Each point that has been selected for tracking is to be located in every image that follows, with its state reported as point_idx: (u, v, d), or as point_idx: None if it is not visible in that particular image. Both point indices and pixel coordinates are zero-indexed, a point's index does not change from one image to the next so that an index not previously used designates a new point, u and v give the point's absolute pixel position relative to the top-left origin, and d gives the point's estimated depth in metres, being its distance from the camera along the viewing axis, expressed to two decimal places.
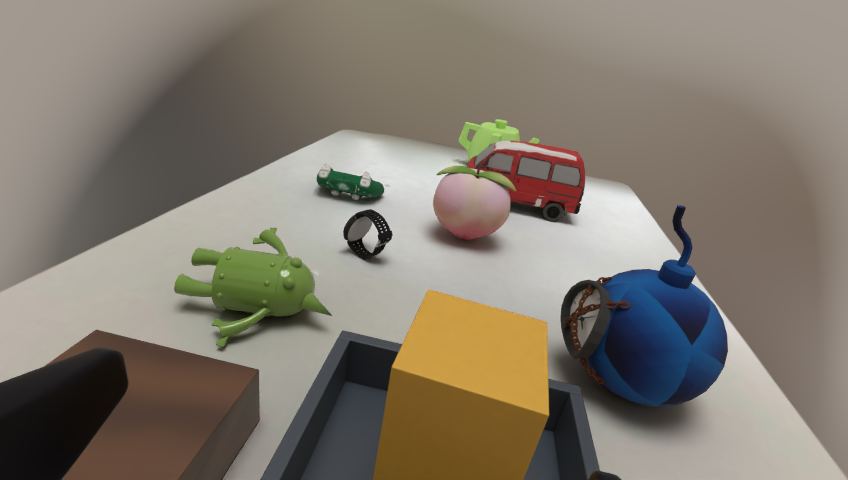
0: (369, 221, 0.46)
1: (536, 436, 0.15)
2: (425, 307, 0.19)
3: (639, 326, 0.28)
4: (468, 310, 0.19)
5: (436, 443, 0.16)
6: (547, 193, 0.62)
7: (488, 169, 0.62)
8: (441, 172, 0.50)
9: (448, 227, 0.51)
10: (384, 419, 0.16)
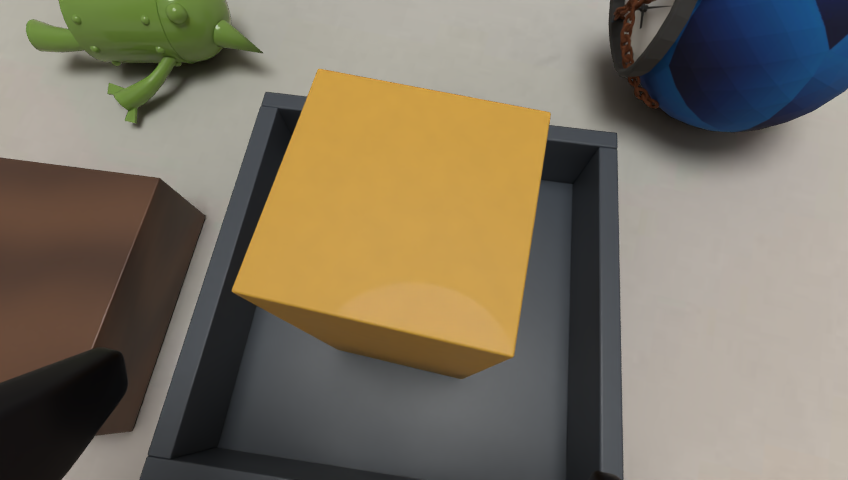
0: None
1: (496, 360, 0.09)
2: (307, 121, 0.10)
3: (743, 22, 0.16)
4: (393, 112, 0.10)
5: (359, 336, 0.11)
6: None
7: None
8: None
9: None
10: (276, 315, 0.11)
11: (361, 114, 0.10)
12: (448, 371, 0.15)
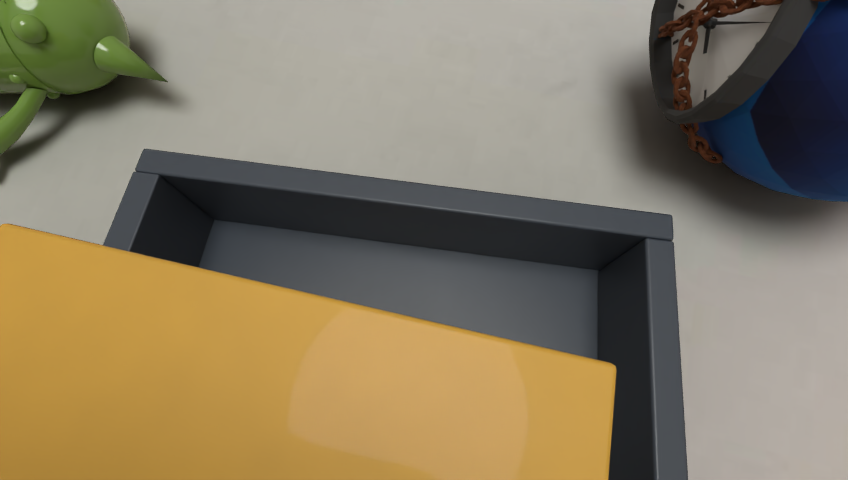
0: None
1: None
2: None
3: None
4: (173, 367, 0.03)
5: None
6: None
7: None
8: None
9: None
10: None
11: (82, 374, 0.03)
12: None
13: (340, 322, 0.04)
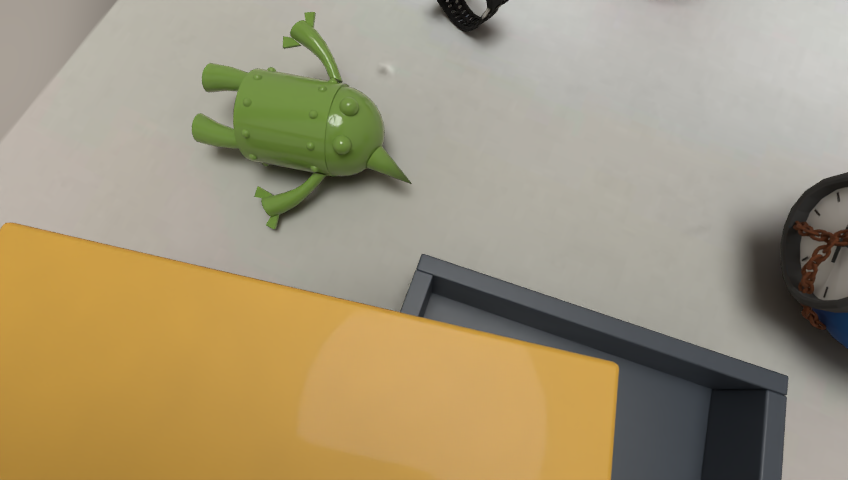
0: None
1: None
2: None
3: None
4: (176, 365, 0.03)
5: None
6: None
7: None
8: None
9: None
10: None
11: (85, 372, 0.03)
12: None
13: (343, 321, 0.04)
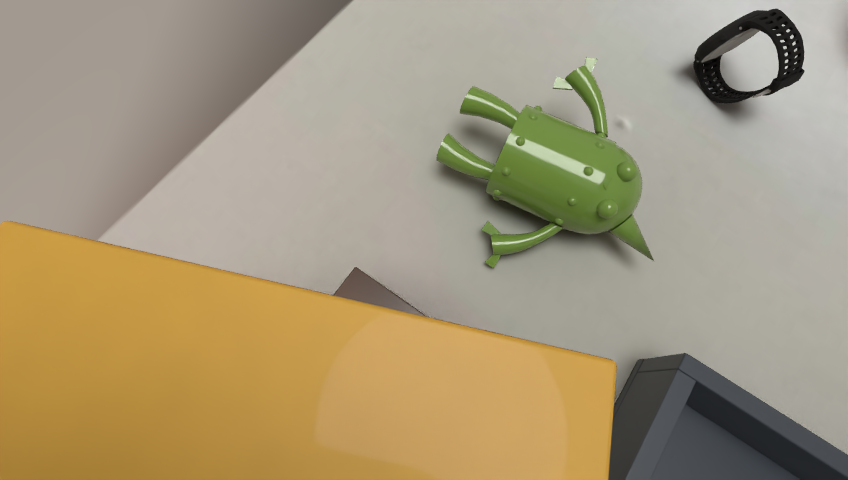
0: (758, 30, 0.24)
1: None
2: None
3: None
4: (174, 363, 0.03)
5: None
6: None
7: None
8: None
9: None
10: None
11: (83, 370, 0.03)
12: None
13: (341, 319, 0.04)
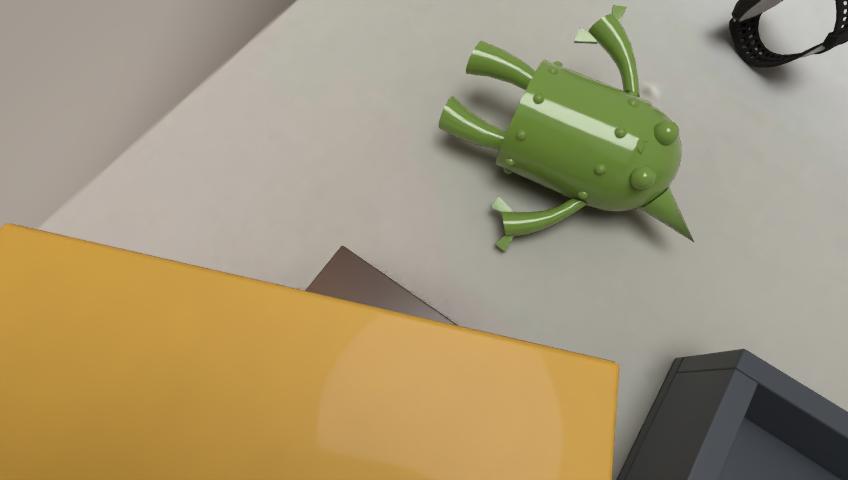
0: None
1: None
2: None
3: None
4: (176, 366, 0.03)
5: None
6: None
7: None
8: None
9: None
10: None
11: (85, 373, 0.03)
12: None
13: (343, 321, 0.04)
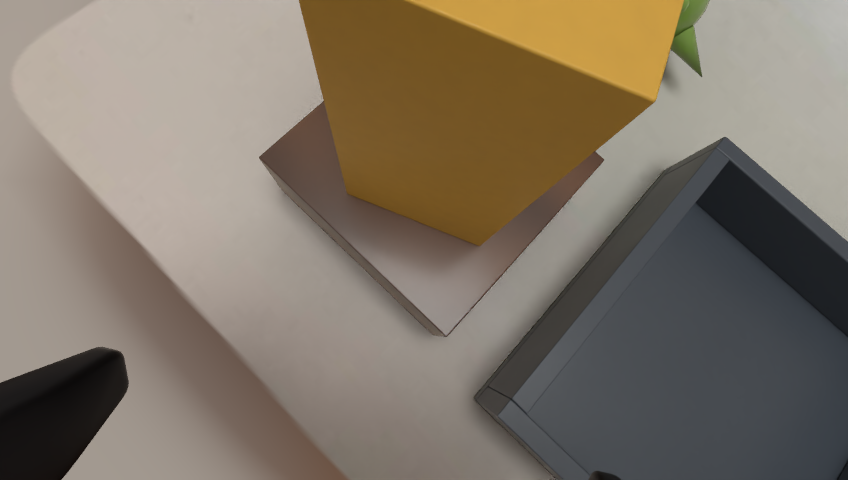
0: None
1: (606, 132, 0.07)
2: None
3: None
4: None
5: (415, 114, 0.09)
6: None
7: None
8: None
9: None
10: (317, 65, 0.08)
11: None
12: (478, 220, 0.14)
13: None
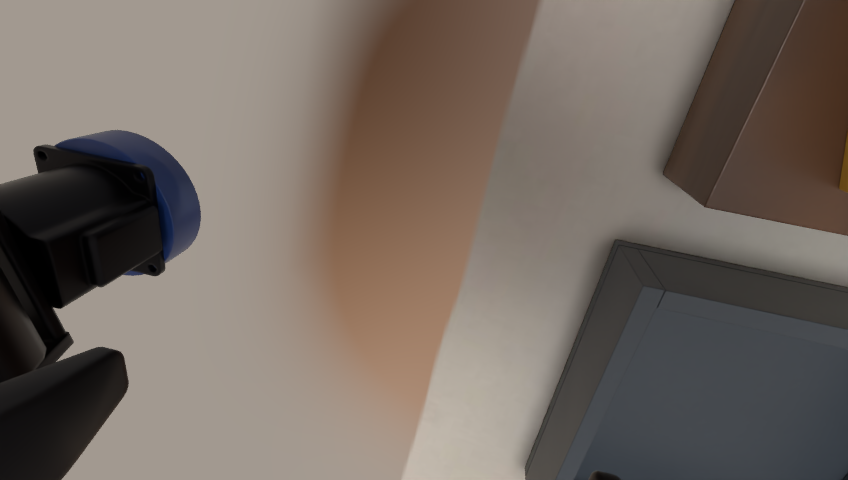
0: None
1: None
2: None
3: None
4: None
5: None
6: None
7: None
8: None
9: None
10: None
11: None
12: None
13: None
